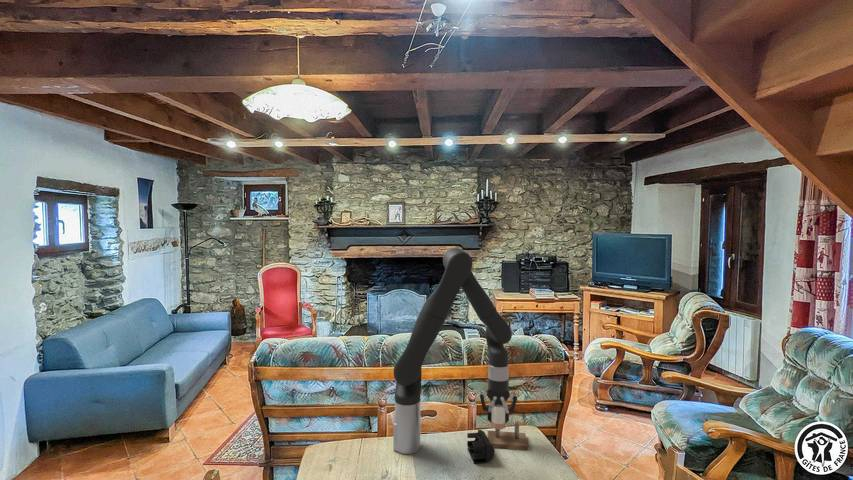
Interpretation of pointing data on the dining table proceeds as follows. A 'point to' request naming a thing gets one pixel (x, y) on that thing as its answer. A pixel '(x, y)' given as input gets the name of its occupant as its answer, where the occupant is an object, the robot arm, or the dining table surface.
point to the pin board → (508, 439)
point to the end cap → (480, 448)
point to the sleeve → (498, 416)
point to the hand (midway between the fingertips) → (498, 421)
